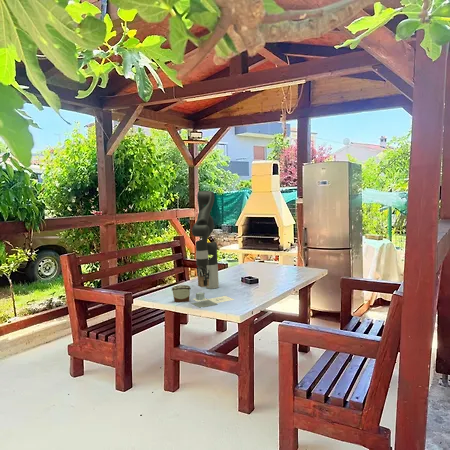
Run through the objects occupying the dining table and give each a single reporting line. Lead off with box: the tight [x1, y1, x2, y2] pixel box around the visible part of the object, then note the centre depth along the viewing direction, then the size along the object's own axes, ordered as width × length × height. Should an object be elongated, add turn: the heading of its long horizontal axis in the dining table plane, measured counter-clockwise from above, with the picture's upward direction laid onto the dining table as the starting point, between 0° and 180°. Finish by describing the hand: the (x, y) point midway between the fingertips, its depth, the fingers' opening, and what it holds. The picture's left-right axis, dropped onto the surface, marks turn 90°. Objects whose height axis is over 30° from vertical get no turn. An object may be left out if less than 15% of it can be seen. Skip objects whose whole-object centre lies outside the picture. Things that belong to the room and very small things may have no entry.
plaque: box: [192, 297, 208, 302], centre depth 250 cm, size 8×8×1 cm
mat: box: [191, 300, 219, 309], centre depth 238 cm, size 12×12×1 cm
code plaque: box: [204, 295, 235, 304], centre depth 246 cm, size 12×16×1 cm
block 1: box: [197, 276, 209, 288], centre depth 237 cm, size 5×5×6 cm
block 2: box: [195, 291, 206, 300], centre depth 250 cm, size 4×4×4 cm
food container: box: [171, 284, 191, 303], centre depth 248 cm, size 12×6×10 cm, turn 92°
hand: (203, 284), depth 237 cm, fingers closed on block 1, 5 cm apart
